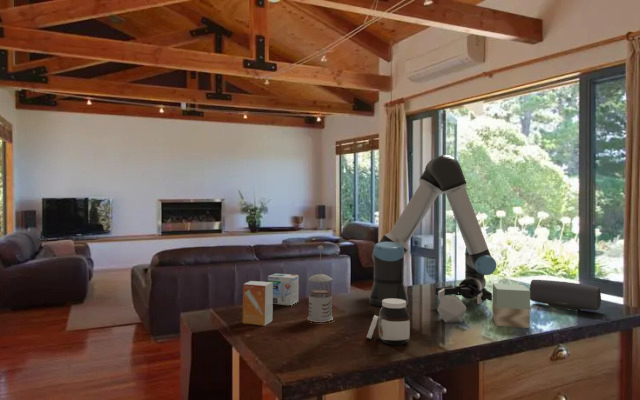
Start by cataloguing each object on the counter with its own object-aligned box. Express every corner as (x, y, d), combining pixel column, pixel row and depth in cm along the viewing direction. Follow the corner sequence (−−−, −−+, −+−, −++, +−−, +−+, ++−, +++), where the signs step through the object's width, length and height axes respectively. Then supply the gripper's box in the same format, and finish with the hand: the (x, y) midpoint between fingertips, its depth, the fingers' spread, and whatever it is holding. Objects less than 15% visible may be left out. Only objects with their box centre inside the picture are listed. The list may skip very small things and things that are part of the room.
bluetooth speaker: (601, 311, 169) (601, 284, 169) (596, 316, 162) (596, 287, 162) (535, 301, 184) (536, 276, 184) (528, 305, 177) (528, 279, 177)
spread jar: (413, 346, 128) (413, 304, 128) (374, 348, 126) (375, 306, 125) (397, 333, 140) (397, 295, 140) (361, 335, 137) (362, 296, 137)
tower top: (496, 307, 149) (497, 289, 149) (492, 300, 159) (492, 283, 159) (530, 309, 147) (530, 290, 147) (523, 302, 156) (523, 285, 156)
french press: (301, 321, 152) (301, 246, 152) (313, 313, 163) (314, 243, 163) (329, 324, 149) (329, 247, 149) (340, 315, 160) (340, 244, 159)
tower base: (496, 326, 149) (496, 307, 149) (492, 318, 159) (492, 300, 159) (529, 328, 147) (529, 309, 147) (523, 320, 156) (523, 302, 156)
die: (461, 328, 148) (474, 301, 151) (436, 313, 149) (449, 287, 152) (453, 330, 156) (466, 305, 159) (429, 316, 157) (442, 291, 160)
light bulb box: (266, 303, 178) (267, 275, 178) (274, 299, 184) (275, 273, 184) (291, 306, 174) (291, 277, 174) (299, 302, 180) (299, 274, 180)
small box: (242, 323, 149) (242, 283, 149) (250, 318, 155) (251, 280, 155) (265, 326, 146) (265, 285, 146) (273, 321, 153) (273, 281, 152)
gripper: (503, 300, 175) (495, 312, 156) (438, 293, 187) (423, 304, 168) (503, 281, 175) (495, 290, 156) (438, 275, 187) (423, 283, 168)
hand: (458, 297), depth 162 cm, fingers open, 13 cm apart
